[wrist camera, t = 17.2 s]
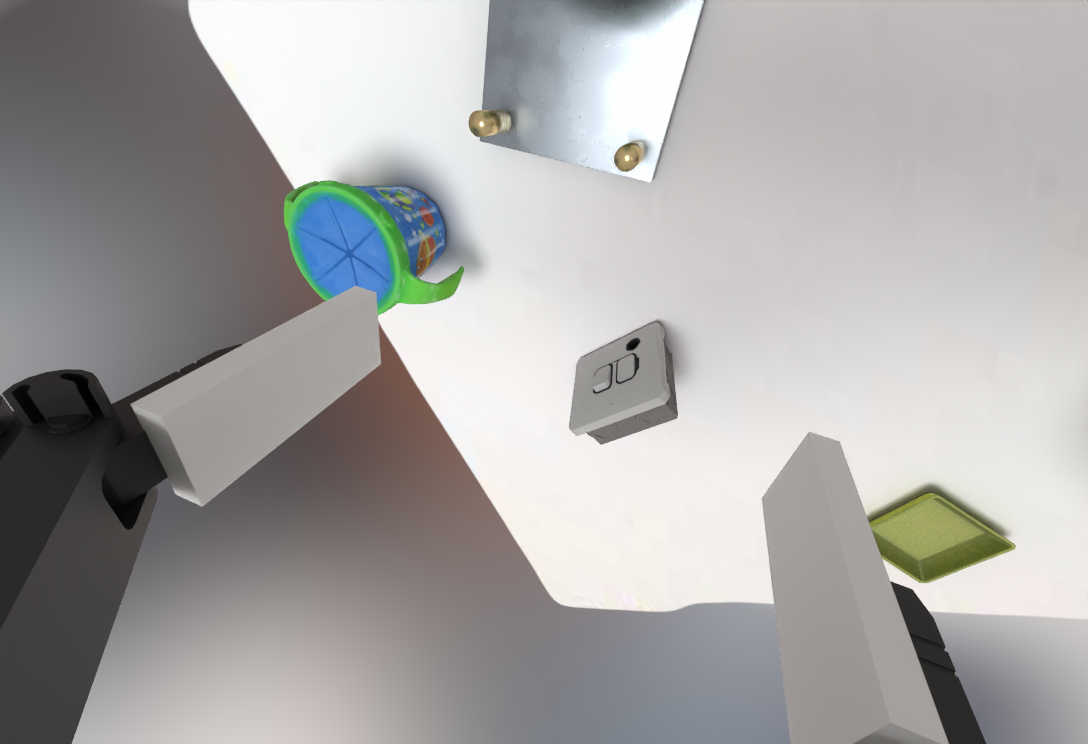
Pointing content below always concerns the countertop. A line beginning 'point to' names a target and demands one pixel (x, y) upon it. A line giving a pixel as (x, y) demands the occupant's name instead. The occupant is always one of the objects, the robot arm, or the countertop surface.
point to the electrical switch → (624, 387)
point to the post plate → (585, 79)
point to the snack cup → (367, 241)
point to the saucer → (934, 538)
